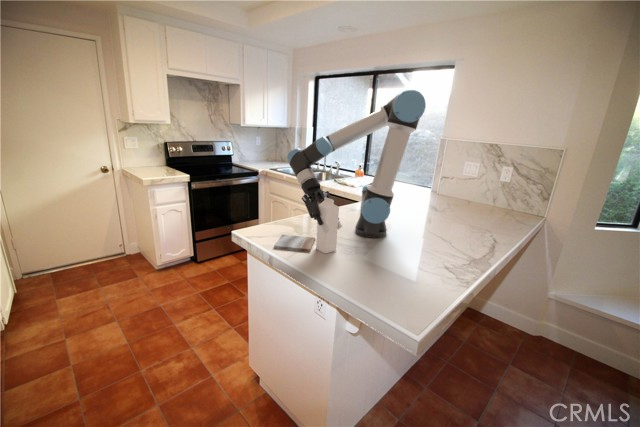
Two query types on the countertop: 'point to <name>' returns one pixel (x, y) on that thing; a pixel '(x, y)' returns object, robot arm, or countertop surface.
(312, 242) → the board
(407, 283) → the countertop surface
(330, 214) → the milk
